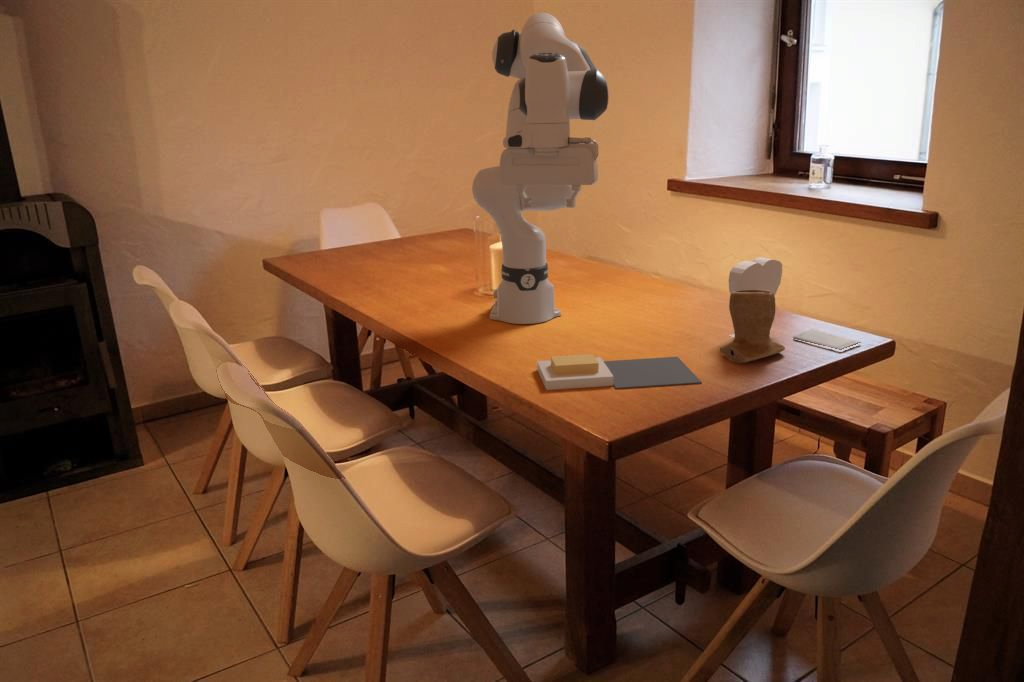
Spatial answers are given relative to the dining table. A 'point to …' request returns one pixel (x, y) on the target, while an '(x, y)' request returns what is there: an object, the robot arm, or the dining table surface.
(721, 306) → the dining table surface
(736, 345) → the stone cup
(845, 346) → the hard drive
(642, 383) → the mat
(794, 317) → the dining table surface
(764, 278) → the heart sculpture
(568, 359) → the yellow rectangular block
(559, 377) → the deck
